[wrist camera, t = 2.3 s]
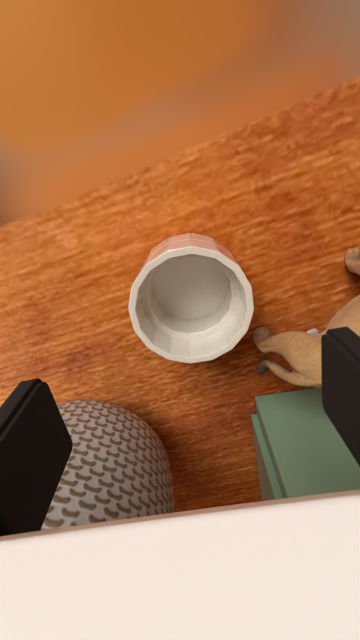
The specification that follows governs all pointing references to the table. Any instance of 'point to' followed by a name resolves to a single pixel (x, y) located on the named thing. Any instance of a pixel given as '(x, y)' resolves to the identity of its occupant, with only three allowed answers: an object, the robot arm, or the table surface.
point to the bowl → (190, 299)
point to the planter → (110, 468)
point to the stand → (299, 447)
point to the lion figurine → (308, 340)
